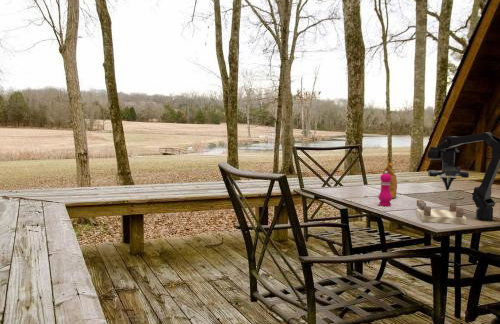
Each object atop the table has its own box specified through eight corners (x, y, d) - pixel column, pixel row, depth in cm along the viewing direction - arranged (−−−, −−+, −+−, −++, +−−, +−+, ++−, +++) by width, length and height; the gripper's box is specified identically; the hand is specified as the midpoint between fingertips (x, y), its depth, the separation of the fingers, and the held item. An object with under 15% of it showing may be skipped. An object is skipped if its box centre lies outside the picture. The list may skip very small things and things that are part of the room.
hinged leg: (426, 209, 212) (426, 203, 212) (420, 209, 213) (420, 203, 212) (422, 205, 224) (422, 199, 223) (416, 205, 224) (416, 199, 224)
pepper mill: (388, 204, 244) (390, 170, 242) (393, 206, 237) (394, 171, 235) (376, 204, 244) (377, 170, 242) (380, 206, 236) (382, 171, 235)
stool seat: (456, 216, 212) (457, 202, 211) (466, 224, 194) (466, 209, 193) (416, 214, 217) (417, 200, 216) (422, 222, 198) (422, 207, 198)
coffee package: (398, 196, 270) (400, 162, 268) (394, 199, 259) (395, 164, 257) (383, 195, 275) (384, 162, 273) (378, 198, 264) (379, 163, 262)
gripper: (431, 161, 212) (430, 191, 214) (472, 162, 208) (470, 193, 209) (428, 159, 223) (427, 188, 224) (466, 160, 218) (465, 190, 220)
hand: (447, 190), depth 219 cm, fingers closed
